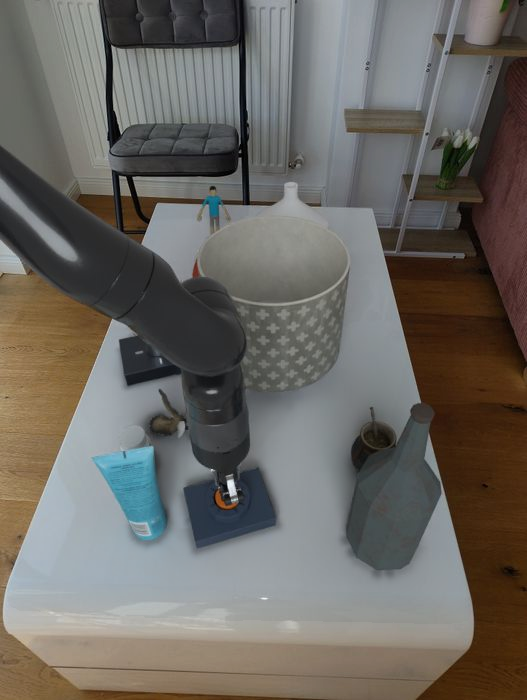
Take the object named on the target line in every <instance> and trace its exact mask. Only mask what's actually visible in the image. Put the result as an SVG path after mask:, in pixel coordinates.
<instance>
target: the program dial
mask: <svg viewBox="0 0 527 700" xmlns="http://www.w3.org/2000/svg"><path fill="white" fill-rule="evenodd" d="M144 343H145V347H146V351H147V353H148V354H149V355H151V356H162V355H161V354H160V353H158V352H157V351H156V350H155V349H153V348H152V347H151V346H150V345H148V344H147V343H146V342H145V341H144Z"/></svg>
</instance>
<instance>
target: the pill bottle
mask: <svg viewBox="0 0 527 700" xmlns="http://www.w3.org/2000/svg"><path fill="white" fill-rule="evenodd" d="M118 443H119V445H118V448H119V452H120V451H126V450H131V449H137V448H142V447H148V446H152V443H151V440H150V437H149V436H148V435H147V433H146V432H145V429H144V428H143V427H142V426H140V425H138V424H131V425H127V426H125V427H124V428H122V430H120V431H119V434H118ZM154 462H155V463H156V458H155V456H154Z"/></svg>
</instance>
